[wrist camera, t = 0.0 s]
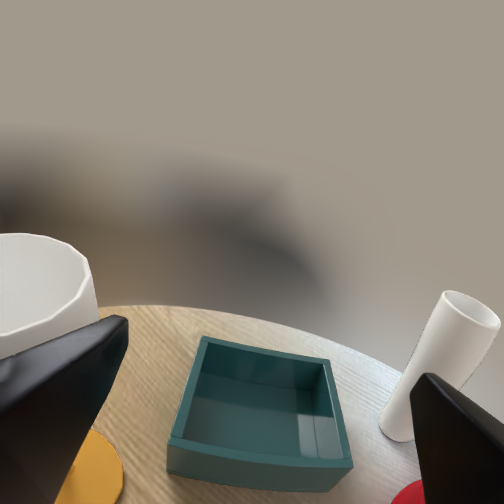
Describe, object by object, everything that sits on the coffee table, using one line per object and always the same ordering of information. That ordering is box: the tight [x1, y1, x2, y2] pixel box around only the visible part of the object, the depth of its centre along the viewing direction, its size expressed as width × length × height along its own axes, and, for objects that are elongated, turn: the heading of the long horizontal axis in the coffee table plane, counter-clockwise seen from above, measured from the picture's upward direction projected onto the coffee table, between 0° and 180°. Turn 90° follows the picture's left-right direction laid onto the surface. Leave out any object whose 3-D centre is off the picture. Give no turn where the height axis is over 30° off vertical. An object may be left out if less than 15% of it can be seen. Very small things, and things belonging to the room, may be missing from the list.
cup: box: [0, 233, 123, 504], centre depth 11 cm, size 9×9×16 cm
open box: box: [166, 335, 354, 492], centre depth 22 cm, size 13×13×5 cm
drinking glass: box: [378, 290, 501, 442], centre depth 22 cm, size 7×7×15 cm
